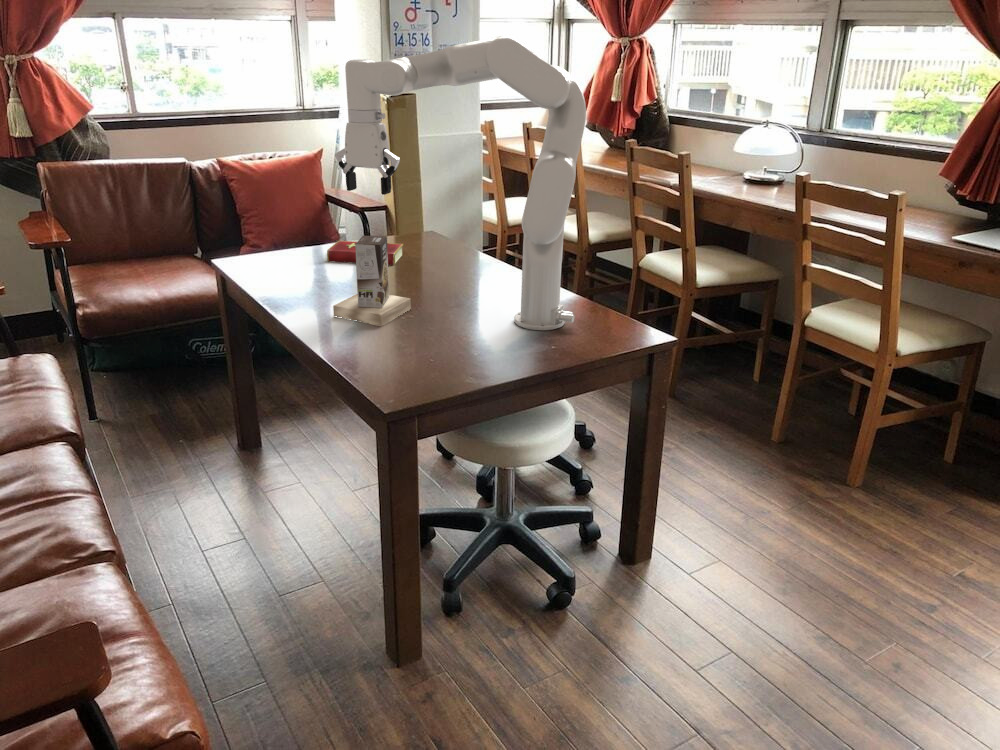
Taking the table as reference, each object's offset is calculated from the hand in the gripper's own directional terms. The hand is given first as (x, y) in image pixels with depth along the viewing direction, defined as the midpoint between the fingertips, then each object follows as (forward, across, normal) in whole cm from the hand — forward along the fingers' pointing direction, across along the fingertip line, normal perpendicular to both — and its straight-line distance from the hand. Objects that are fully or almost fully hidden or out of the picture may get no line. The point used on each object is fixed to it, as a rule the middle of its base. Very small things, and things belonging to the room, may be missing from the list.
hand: (368, 191), depth 194 cm
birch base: (+31, +1, 0) cm, 31 cm away
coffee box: (+28, 0, 0) cm, 28 cm away
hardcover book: (+31, +30, -42) cm, 60 cm away
